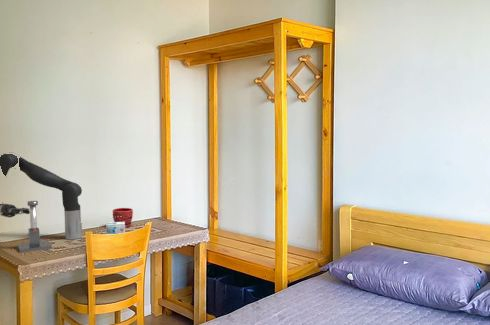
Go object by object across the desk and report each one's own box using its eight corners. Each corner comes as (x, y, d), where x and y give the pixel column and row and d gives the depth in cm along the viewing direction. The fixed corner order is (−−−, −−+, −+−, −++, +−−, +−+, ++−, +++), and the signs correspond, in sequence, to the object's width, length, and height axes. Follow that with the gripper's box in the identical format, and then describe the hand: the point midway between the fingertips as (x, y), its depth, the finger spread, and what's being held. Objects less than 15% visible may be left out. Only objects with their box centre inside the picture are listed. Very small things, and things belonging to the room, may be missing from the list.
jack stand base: (47, 242, 270) (47, 224, 269) (51, 248, 256) (51, 229, 255) (17, 246, 262) (16, 228, 261) (20, 252, 248) (19, 233, 247)
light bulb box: (106, 243, 267) (105, 224, 267) (106, 240, 274) (106, 222, 273) (125, 241, 270) (124, 223, 270) (125, 239, 277) (124, 221, 276)
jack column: (38, 242, 262) (37, 200, 261) (40, 244, 258) (38, 201, 256) (28, 243, 260) (27, 201, 258) (29, 245, 255) (27, 202, 254)
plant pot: (109, 228, 308) (108, 210, 307) (120, 224, 321) (119, 207, 320) (126, 229, 304) (126, 211, 303) (136, 225, 317) (136, 208, 316)
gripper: (-6, 205, 267) (9, 208, 258) (18, 202, 279) (33, 205, 270) (-6, 218, 267) (9, 221, 258) (18, 214, 279) (33, 217, 270)
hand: (21, 213), depth 264 cm, fingers open, 8 cm apart
